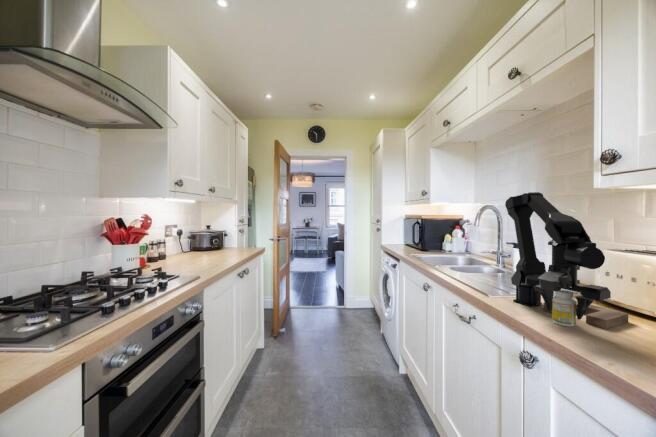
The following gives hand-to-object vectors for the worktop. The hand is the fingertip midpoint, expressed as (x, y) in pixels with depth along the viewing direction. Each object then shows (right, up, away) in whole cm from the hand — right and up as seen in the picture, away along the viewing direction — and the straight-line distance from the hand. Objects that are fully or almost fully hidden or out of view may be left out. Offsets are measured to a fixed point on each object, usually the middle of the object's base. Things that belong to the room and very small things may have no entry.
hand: (563, 314), depth 82 cm
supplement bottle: (0, -3, 0) cm, 3 cm away
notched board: (+11, -2, +5) cm, 12 cm away
